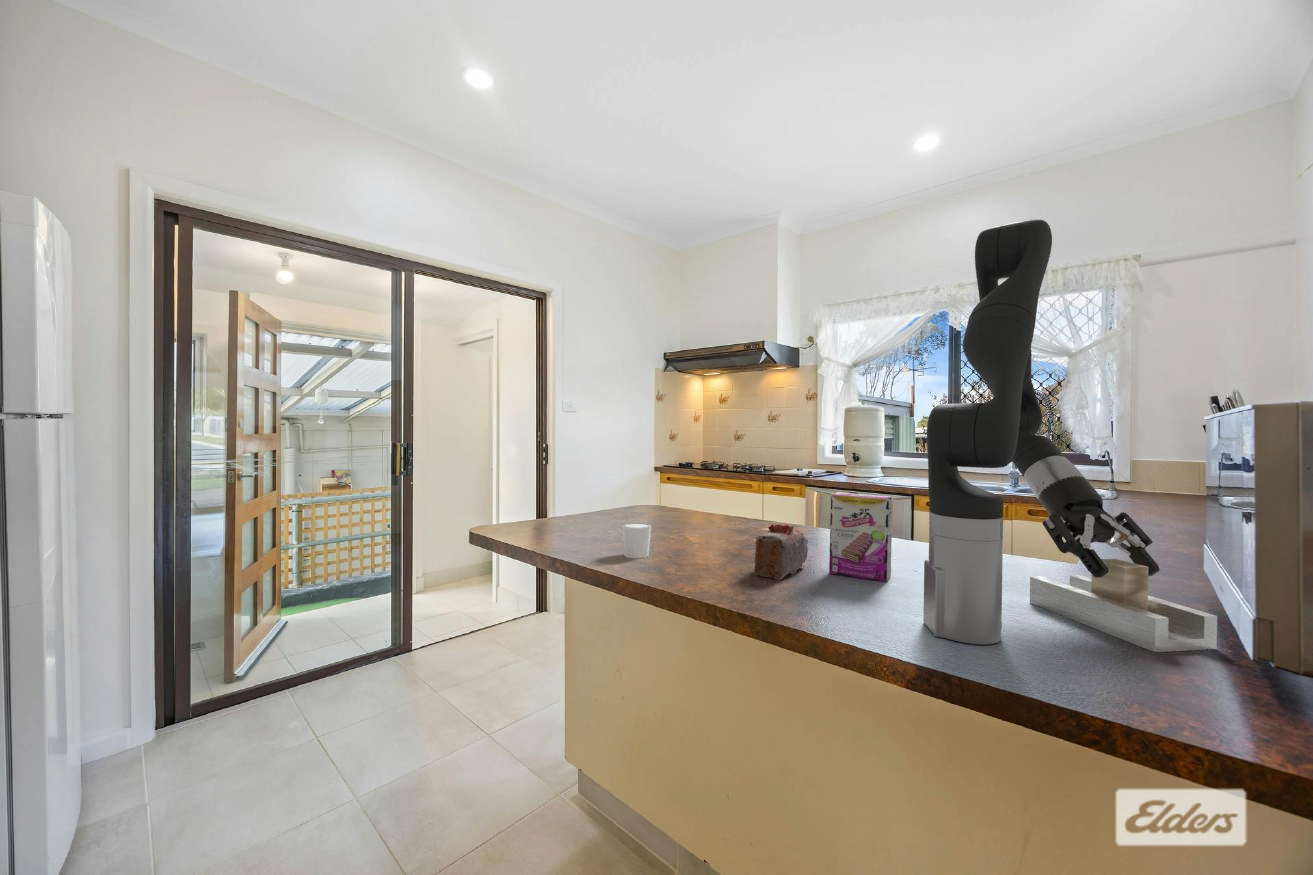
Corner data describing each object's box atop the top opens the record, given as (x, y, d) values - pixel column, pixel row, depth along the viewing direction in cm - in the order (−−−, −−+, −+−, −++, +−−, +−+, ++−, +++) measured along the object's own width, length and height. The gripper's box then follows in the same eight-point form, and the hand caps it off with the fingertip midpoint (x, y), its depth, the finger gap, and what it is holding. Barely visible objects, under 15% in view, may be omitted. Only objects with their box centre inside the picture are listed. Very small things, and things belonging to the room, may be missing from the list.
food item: (774, 561, 116) (774, 517, 116) (809, 567, 112) (810, 521, 112) (750, 576, 105) (751, 527, 105) (789, 582, 101) (790, 531, 100)
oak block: (1123, 621, 76) (1124, 567, 76) (1090, 610, 81) (1092, 559, 81) (1147, 620, 77) (1148, 566, 77) (1113, 609, 82) (1114, 558, 82)
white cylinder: (618, 558, 118) (618, 527, 118) (625, 551, 125) (625, 522, 125) (648, 559, 117) (648, 528, 117) (653, 552, 124) (653, 523, 124)
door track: (1154, 652, 70) (1155, 618, 69) (1029, 602, 89) (1030, 576, 89) (1216, 648, 71) (1217, 615, 71) (1079, 600, 91) (1080, 575, 90)
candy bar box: (828, 574, 106) (829, 493, 106) (834, 569, 110) (835, 491, 110) (887, 583, 100) (889, 498, 100) (891, 577, 104) (893, 495, 104)
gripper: (1036, 474, 85) (1103, 562, 74) (1113, 474, 87) (1190, 559, 76) (1010, 502, 91) (1069, 588, 79) (1083, 501, 92) (1151, 585, 81)
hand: (1128, 574), depth 78 cm, fingers open, 8 cm apart
